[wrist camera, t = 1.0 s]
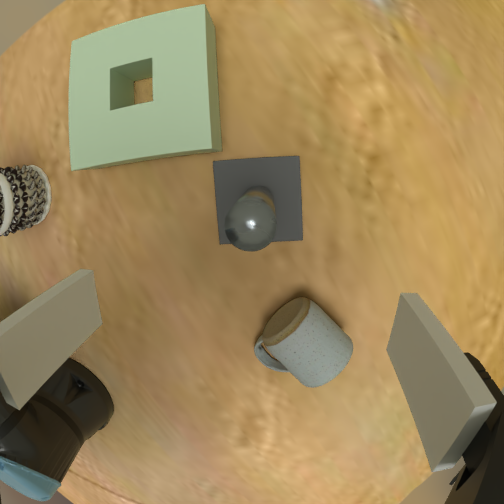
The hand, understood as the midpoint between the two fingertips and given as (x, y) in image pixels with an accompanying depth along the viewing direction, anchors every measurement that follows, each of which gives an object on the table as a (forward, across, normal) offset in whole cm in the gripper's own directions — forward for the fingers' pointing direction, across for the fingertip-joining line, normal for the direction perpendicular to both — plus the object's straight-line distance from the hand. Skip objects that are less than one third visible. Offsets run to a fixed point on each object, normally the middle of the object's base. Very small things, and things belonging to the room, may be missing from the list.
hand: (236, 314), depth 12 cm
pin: (+22, +1, -1) cm, 22 cm away
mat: (+22, +1, -1) cm, 22 cm away
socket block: (+22, +13, -13) cm, 29 cm away
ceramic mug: (+22, -4, +14) cm, 27 cm away
